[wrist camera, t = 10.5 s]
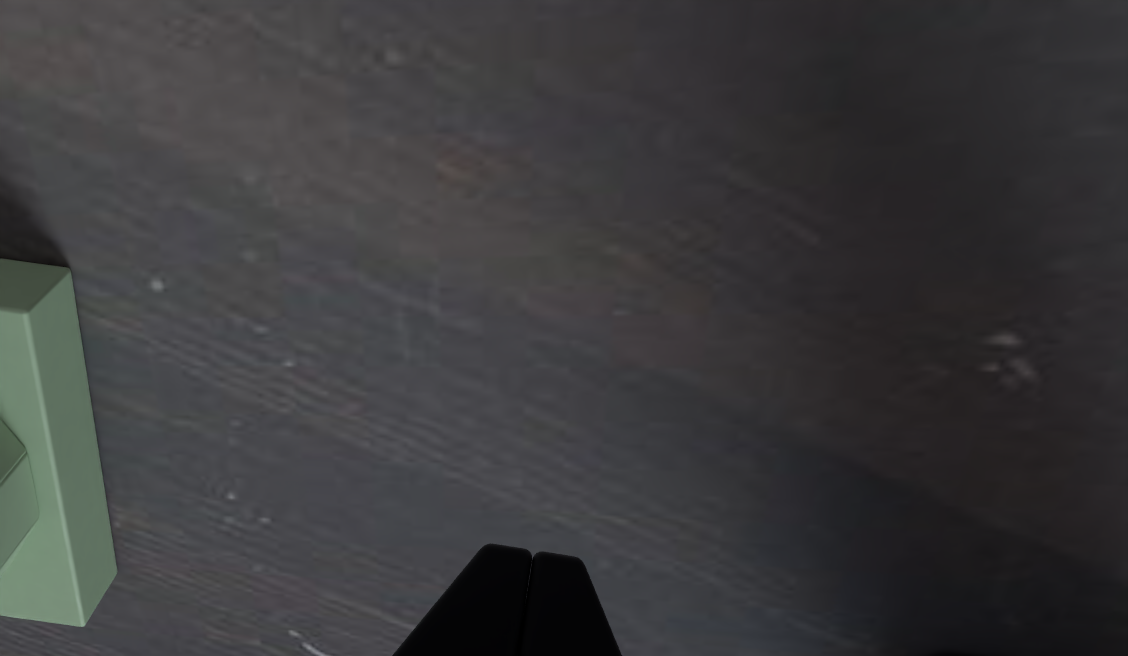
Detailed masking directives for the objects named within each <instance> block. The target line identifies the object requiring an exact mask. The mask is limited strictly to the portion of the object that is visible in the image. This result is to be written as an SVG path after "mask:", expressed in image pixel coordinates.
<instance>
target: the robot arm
mask: <svg viewBox="0 0 1128 656" xmlns="http://www.w3.org/2000/svg"><path fill="white" fill-rule="evenodd" d="M531 563H532V566H531ZM530 569H531V572H530ZM529 576H530V579H529ZM528 583H529V585H528ZM527 589H528V591H527ZM526 596H527V597H526ZM525 602H526V604H525ZM524 609H525V610H524ZM522 622H523V623H522ZM392 656H622V655H621V652H620V650H619V647H618V645H617V643H616V640H615V638H614V635H613V633H612V630H611V628H610V625H609V623H608V621H607V618H606V616H605V613H604V611H603V608H602V606H601V603H600V601H599V598H598V596H597V594H596V591H595V589H594V586H593V584H592V581H591V579H590V576H589V574H588V572H587V569H586V567H585V565H584V563H583V562H582V560H580V559H579V558H578V557H574V556H568V555H561V554H555V553H549V552H538V553H536V554H535V555H534V557H533V560H532V555H531V553H530V552H529V551H528V550H527V549H523V548H517V547H510V546H504V545H497V544H487V545H485V546H483V547H482V548H481V549H480V550H479V551H478V552H477V554H476V555H475V556H474V557H473V559H472V560H471V561H470V562H469V563H468V565H467V566H466V567H465V568H464V569H463V571H462V572H461V573H460V574H459V575H458V577H457V578H456V579H455V580H454V582H453V583H452V584H451V585H450V586H449V588H448V589H447V590H446V591H445V592H444V594H443V595H442V596H441V597H440V599H439V600H438V601H437V602H436V603H435V605H434V606H433V607H432V608H431V609H430V611H429V612H428V613H427V614H426V615H425V617H424V618H423V619H422V620H421V622H420V623H419V624H418V625H417V626H416V628H415V629H414V630H413V631H412V632H411V634H410V635H409V636H408V637H407V638H406V640H405V641H404V642H403V643H402V645H401V646H400V647H399V648H398V649H397V651H396V652H395V653H394V654H393V655H392Z"/></svg>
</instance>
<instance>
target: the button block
mask: <svg viewBox="0 0 1128 656" xmlns="http://www.w3.org/2000/svg"><path fill="white" fill-rule="evenodd" d="M116 574H117V565H116V559H115V552H114V546H113V540H112V533H111V527H110V520H109V514H108V507H107V501H106V494H105V488H104V481H103V475H102V469H101V462H100V456H99V449H98V443H97V436H96V430H95V423H94V417H93V410H92V404H91V398H90V391H89V385H88V378H87V372H86V365H85V359H84V352H83V346H82V339H81V333H80V327H79V320H78V314H77V307H76V301H75V294H74V288H73V281H72V275H71V270H70V269H69V268H67V267H59V266H52V265H45V264H38V263H30V262H23V261H16V260H8V259H1V258H0V615H2V616H9V617H16V618H23V619H30V620H37V621H44V622H51V623H58V624H65V625H72V626H79V627H82V626H84V625H85V624H86V623H87V621H88V620H89V618H90V616H91V615H92V613H93V611H94V610H95V608H96V607H97V605H98V603H99V602H100V600H101V599H102V597H103V595H104V594H105V592H106V590H107V589H108V587H109V586H110V584H111V582H112V581H113V579H114V577H115V576H116Z"/></svg>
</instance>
